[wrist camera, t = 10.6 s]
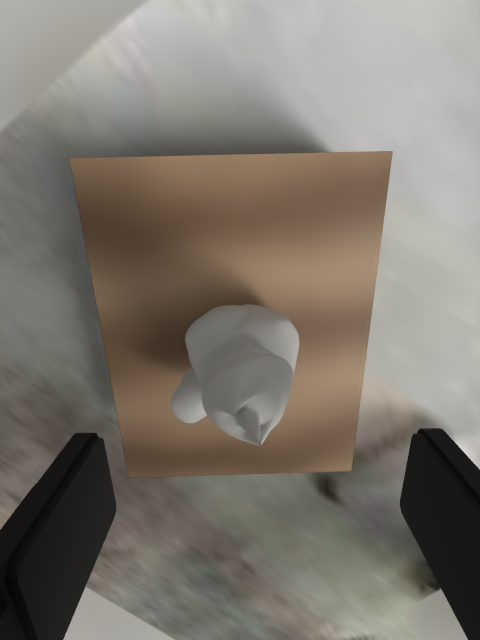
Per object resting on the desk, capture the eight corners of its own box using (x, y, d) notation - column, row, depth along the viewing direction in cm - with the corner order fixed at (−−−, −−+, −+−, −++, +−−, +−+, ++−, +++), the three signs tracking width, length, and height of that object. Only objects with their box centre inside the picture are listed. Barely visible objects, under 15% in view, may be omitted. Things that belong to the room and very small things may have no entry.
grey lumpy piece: (313, 347, 17) (375, 461, 10) (216, 410, 18) (203, 553, 11) (254, 266, 16) (274, 327, 8) (152, 341, 17) (88, 453, 9)
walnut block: (325, 412, 26) (351, 470, 20) (151, 417, 26) (128, 477, 20) (347, 165, 20) (392, 151, 14) (117, 170, 19) (69, 158, 14)
